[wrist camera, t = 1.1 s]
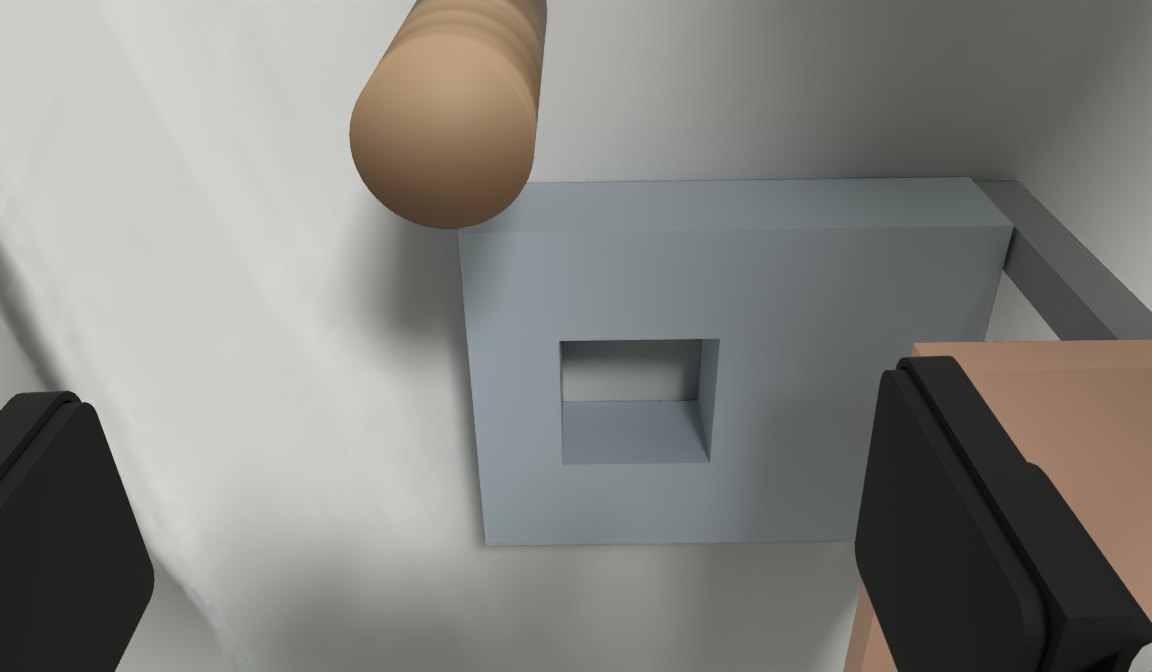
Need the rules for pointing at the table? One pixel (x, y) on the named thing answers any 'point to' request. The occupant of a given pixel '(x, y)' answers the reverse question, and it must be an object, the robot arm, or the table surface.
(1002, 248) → the socket deck
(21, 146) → the table surface
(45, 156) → the table surface
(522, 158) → the peg
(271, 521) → the table surface
